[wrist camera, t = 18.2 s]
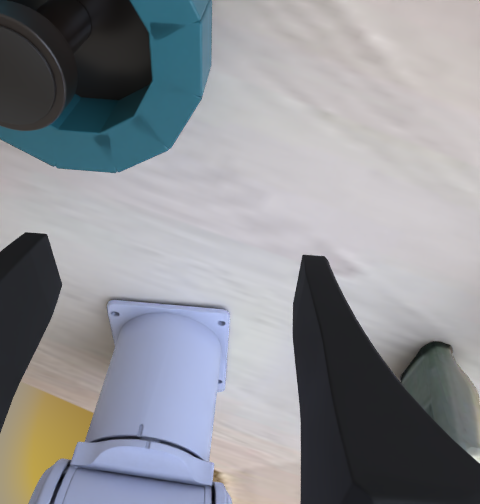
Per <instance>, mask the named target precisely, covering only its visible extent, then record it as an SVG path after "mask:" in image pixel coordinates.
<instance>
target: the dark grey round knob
mask: <svg viewBox="0 0 480 504" xmlns="http://www.w3.org/2000/svg"><path fill="white" fill-rule="evenodd" d="M151 81H152V74H151V60H150V47H149V34H148V31H147V29H146V27H145V26H144V24H143V22H142V21H141V19H140V17H139V16H138V14H137V12H136V11H135V9H134V7H133V5H132V4H131V2H130V0H7V1H6V0H0V126H2V127H5V128H8V129H12V130H18V131H33V130H38V129H42V128H44V127H47V126H49V125H50V124H52V123H53V122H54V121H55V120H56V119H57V118H58V117H59V116H60V114H61V113H62V112H63V111H64V109H65V108H66V107H67V106H68V104H69V103H70V102H71V100H72V99H73V97H74V95H75V94H77V95H79V96H80V97H84V98H96V99H109V100H121V99H122V98H124V97H126V96H128V95H130V94H132V93H134V92H136V91H138V90H140V89H142V88H144V87H146V86H148V85H149V84H150V82H151Z"/></svg>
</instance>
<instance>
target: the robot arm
mask: <svg viewBox="0 0 480 504" xmlns="http://www.w3.org/2000/svg"><path fill="white" fill-rule="evenodd" d="M61 287H62V282H61V279H60V276H59V272H58V269H57V266H56V262H55V259H54V256H53V252H52V249H51V246H50V242H49V239H48V236H47V234H40V233H27V232H25V233H24V234H23V235H21V236H20V237H19V238H17V239H16V240H15V241H13V242H12V243H11V244H10V245H8V246H7V247H6V248H4V249H3V250H2V251H1V252H0V432H1V429H2V427H3V424H4V421H5V418H6V415H7V413H8V410H9V407H10V405H11V402H12V399H13V397H14V395H15V392H16V390H17V388H18V385H19V383H20V381H21V379H22V377H23V375H24V373H25V371H26V369H27V367H28V365H29V363H30V361H31V359H32V357H33V355H34V353H35V351H36V349H37V347H38V345H39V342H40V340H41V338H42V336H43V334H44V332H45V330H46V328H47V326H48V324H49V322H50V320H51V317H52V315H53V312H54V309H55V306H56V303H57V300H58V297H59V294H60V290H61ZM107 311H108V316H109V321H110V325H111V330H112V335H113V339H114V344H115V349H114V352H113V355H112V359H111V362H110V365H109V368H108V371H107V374H106V377H105V380H104V383H103V387H102V390H101V393H100V396H99V399H98V402H97V405H96V408H95V412H94V415H93V418H92V421H91V424H90V427H89V430H88V433H87V437H86V440H85V442H78V443H77V445H76V448H75V451H74V454H73V457H72V460H68V459H60V460H58V461H57V462H56V463H55V464H54V465H53V466H51V467H50V468H49V469H47V470H46V471H45V472H44V474H43V475H42V477H41V478H40V480H39V482H38V484H37V486H36V487H35V490H34V492H33V494H32V496H31V499H30V501H29V504H232V499H231V497H230V495H229V494H228V492H227V491H226V489H225V486H224V484H223V483H221V482H212V481H213V472H214V463H213V462H209V458H210V449H211V440H212V431H213V422H214V413H215V404H216V396H217V392H222V391H224V390H225V381H226V366H227V351H228V336H229V320H230V313H229V312H228V311H226V310H224V309H214V308H203V307H191V306H180V305H168V304H157V303H145V302H134V301H122V300H111V301H109V302H108V305H107ZM293 344H294V354H295V364H296V374H297V383H298V393H299V403H300V417H301V504H480V463H479V462H478V461H476V460H475V459H474V458H473V457H472V456H471V455H470V454H469V453H467V452H466V451H465V450H464V449H463V448H462V447H461V446H460V445H459V444H457V443H456V442H455V441H454V440H453V439H452V438H451V437H450V436H449V435H448V434H447V433H446V432H445V431H444V430H443V429H442V428H441V427H440V426H439V425H438V424H437V423H436V422H435V421H434V420H433V419H432V418H431V416H430V415H429V414H428V413H427V412H426V411H425V410H424V409H423V408H422V406H421V405H420V404H419V403H418V402H417V401H416V400H415V399H414V398H413V396H412V395H411V394H410V393H409V392H408V391H407V390H406V389H405V387H404V386H403V385H402V384H401V382H400V381H399V380H398V379H397V377H396V376H395V375H394V374H393V372H392V371H391V370H390V368H389V367H388V366H387V364H386V363H385V362H384V360H383V359H382V358H381V356H380V355H379V353H378V352H377V350H376V349H375V348H374V346H373V345H372V343H371V342H370V340H369V338H368V337H367V335H366V334H365V332H364V331H363V329H362V327H361V326H360V324H359V322H358V321H357V319H356V317H355V315H354V314H353V312H352V310H351V308H350V306H349V305H348V303H347V301H346V299H345V297H344V295H343V293H342V291H341V289H340V287H339V285H338V283H337V281H336V279H335V277H334V274H333V272H332V270H331V267H330V265H329V262H328V260H327V259H326V258H325V256H313V255H303V256H302V261H301V266H300V271H299V276H298V282H297V287H296V292H295V297H294V302H293Z"/></svg>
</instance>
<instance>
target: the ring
mask: <svg viewBox="0 0 480 504" xmlns="http://www.w3.org/2000/svg"><path fill="white" fill-rule="evenodd" d="M6 1H7V0H6ZM130 2H131V4H132V5H133V7H134V9H135V11H136V12H137V14H138V16H139V17H140V19H141V21H142V22H143V24H144V26H145V27H146V29H147V31H148V34H149V47H150V60H151V74H152V81H151V82H150V84H149V85H148V86H146V87H144V88H142V89H140V90H138V91H136V92H134V93H132V94H130V95H128V96H126V97H124V98H122V99H121V100H109V99H96V98H84V97H80V96H79V95H77V94H75V95H74V97H73V99H72V100H71V102H70V103H69V104H68V106H67V107H66V108H65V109H64V111H63V112H62V113H61V114H60V116H59V117H58V118H57V119H56V120H55V121H54V122H53V123H52V124H50V125H49V126H47V127H44V128H42V129H38V130H33V131H18V130H12V129H8V128H5V127H2V126H0V139H1V140H3V141H5V142H7V143H9V144H10V145H12V146H14V147H16V148H18V149H20V150H22V151H24V152H26V153H28V154H30V155H32V156H34V157H36V158H38V159H39V160H41V161H43V162H45V163H47V164H49V165H51V166H53V167H55V166H56V167H57V168H61V169H73V170H85V171H98V172H110V173H116V172H121V171H123V170H125V169H128V168H130V167H132V166H134V165H136V164H139V163H141V162H143V161H145V160H148V159H150V158H152V157H154V156H157V155H159V154H161V153H163V152H166V151H168V150H169V149H170V148H171V147H172V146H173V144H174V142H175V141H176V139H177V138H178V136H179V134H180V133H181V131H182V130H183V128H184V126H185V125H186V123H187V122H188V120H189V119H190V117H191V115H192V114H193V112H194V111H195V109H196V107H197V106H198V104H199V103H200V101H201V99H202V95H203V92H204V89H205V85H206V82H207V78H208V75H209V72H210V67H211V43H212V0H130Z"/></svg>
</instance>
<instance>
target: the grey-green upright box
mask: <svg viewBox="0 0 480 504" xmlns="http://www.w3.org/2000/svg"><path fill="white" fill-rule="evenodd" d="M452 353H453V349H452V347H451V346H450V345H447V344H444V343H440V342H432V343H429V344H427V345H425V346H424V347H422V348H421V349H420V351H419V352H418V354H417V355H416V357H415V358H414V360H413V361H412V362H411V363H410V365H409V366H408V367H407V369H406V370H405V371H404V373H403V374H402V376H401V379H400V380H401V384H402V385H403V386H404V387H405V389H406V390H407V391H408V392H409V393H410V394H411V395H412V396H413V398H414V399H415V400H416V401H417V402H418V403H419V404H420V405H421V406H422V408H423V409H424V410H425V411H426V412H427V413H428V414H429V415H430V416H431V418H432V419H433V420H434V421H435V422H436V423H437V424H438V425H439V426H440V427H441V428H442V429H443V430H444V431H445V432H446V433H447V434H448V435H449V436H450V437H451V438H452V439H453V440H454V441H455V442H456V443H457V444H459V445H460V446H461V447H462V448H463V449H464V450H465V451H466V452H467V453H469V454H470V455H471V456H472V457H473V458H474V459H475V460H476V461H478V462H479V463H480V401H479V394H478V392H477V390H476V388H475V386H474V384H473V383H472V382H471V380H470V379H469V377H468V376H467V375H466V374H465V373H464V372H463V371H462V369H461V368H460V367H459V365H458V364H457V363H456V361H455V359H454V358H453V356H452Z"/></svg>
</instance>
